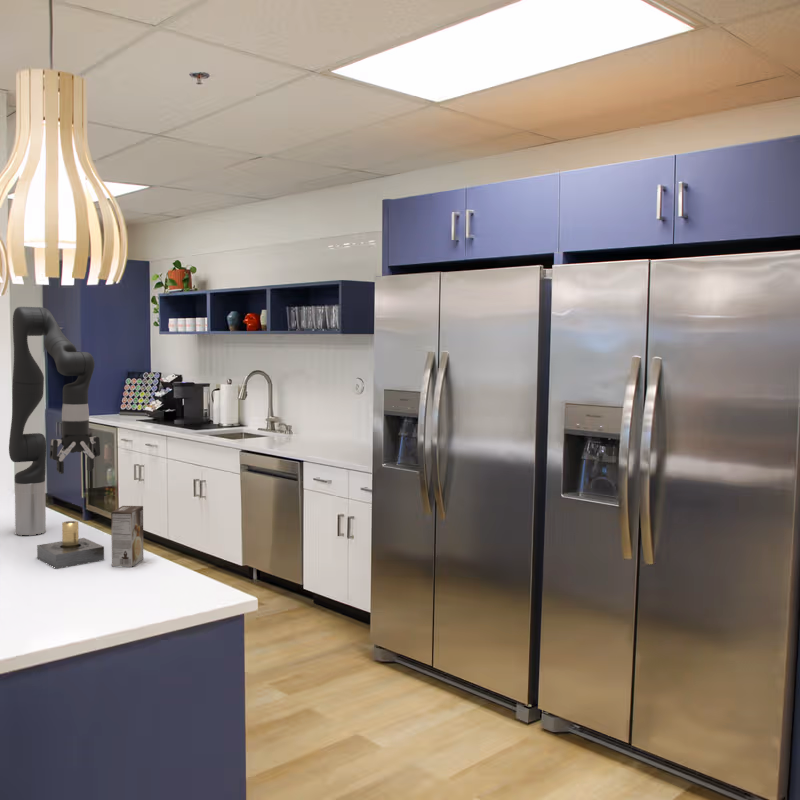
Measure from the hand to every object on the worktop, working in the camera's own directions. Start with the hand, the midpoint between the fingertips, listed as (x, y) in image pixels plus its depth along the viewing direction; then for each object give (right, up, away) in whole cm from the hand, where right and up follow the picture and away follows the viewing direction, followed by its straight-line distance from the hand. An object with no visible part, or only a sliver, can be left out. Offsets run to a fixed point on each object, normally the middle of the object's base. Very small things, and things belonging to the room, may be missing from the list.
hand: (75, 471), depth 240 cm
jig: (+1, -25, -5) cm, 26 cm away
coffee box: (+18, -26, -7) cm, 33 cm away
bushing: (+1, -24, -5) cm, 25 cm away
